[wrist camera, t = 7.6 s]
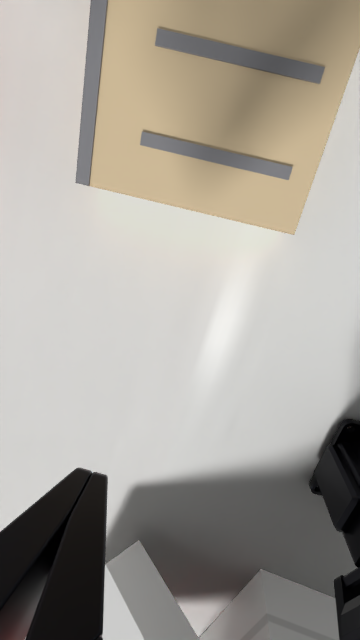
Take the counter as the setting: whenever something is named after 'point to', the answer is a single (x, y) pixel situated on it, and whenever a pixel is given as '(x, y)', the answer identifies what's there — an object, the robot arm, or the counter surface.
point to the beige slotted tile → (214, 101)
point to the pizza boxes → (231, 625)
